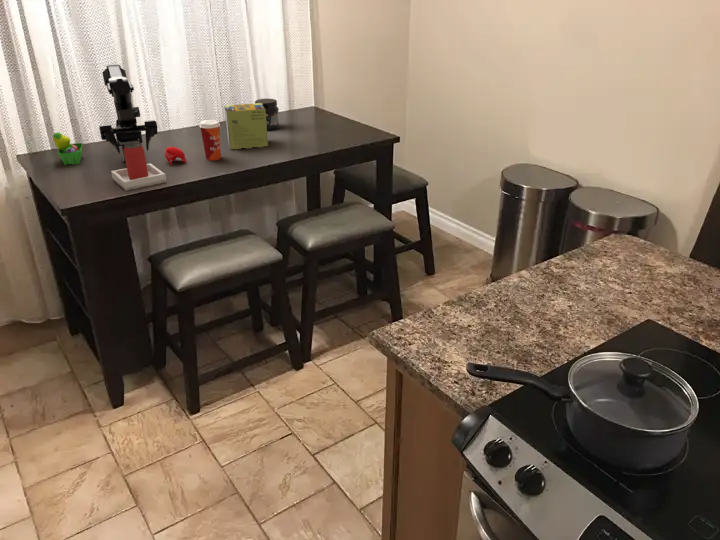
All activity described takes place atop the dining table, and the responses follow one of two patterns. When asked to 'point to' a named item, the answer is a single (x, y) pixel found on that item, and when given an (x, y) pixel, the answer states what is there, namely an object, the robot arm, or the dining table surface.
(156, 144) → the dining table surface
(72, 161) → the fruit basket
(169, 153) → the cap
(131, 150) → the beer can
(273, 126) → the supplement container
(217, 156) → the paper cup
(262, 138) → the protein box
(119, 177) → the tray
